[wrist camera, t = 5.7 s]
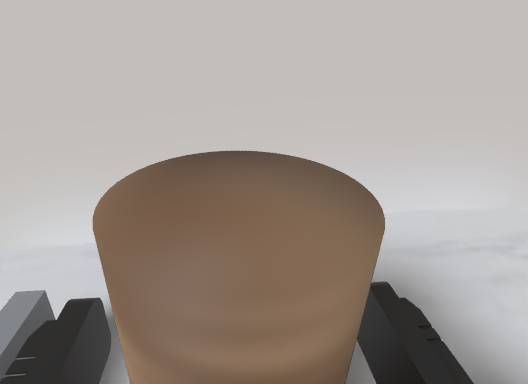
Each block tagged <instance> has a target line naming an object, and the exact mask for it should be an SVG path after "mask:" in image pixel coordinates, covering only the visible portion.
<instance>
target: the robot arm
mask: <svg viewBox="0 0 528 384" xmlns="http://www.w3.org/2000/svg"><path fill="white" fill-rule="evenodd" d="M357 341H358V343H359V345H360V347H361V350H362V352H363V354H364V356H365V358H366V361H367V363H368V365H369V367H370V370H371V372H372V374H373V376H374V379H375V381H376V383H377V384H474V383H473V382H472V380H471V379H470V378H469V376H468V375H467V374H466V372H465V371H464V369H463V368H462V367H461V365H460V364H459V363H458V361H457V360H456V358H455V357H454V356H453V354H452V353H451V351H450V350H449V349H448V347H447V346H446V345H445V343H444V342H443V341H441V338H440V336H439V335H438V334H437V332H436V331H435V329H434V328H432V327H431V324H430V323H429V321H428V320H427V318H426V317H425V316H424V314H423V313H422V312H421V310H420V309H418V308H417V307H416V306H415V305H414V304H412V303H411V302H410V301H409V300H407V299H406V298H399V297H398V296H397V294H396V293H395V291H394V290H393V289H392V287H391V286H390V284H389V283H387V282H372V283H371V285H370V289H369V293H368V297H367V301H366V305H365V308H364V312H363V316H362V320H361V324H360V328H359V332H358V336H357ZM110 345H111V335H110V330H109V326H108V322H107V318H106V314H105V311H104V307H103V303H102V300H101V299H100V298H85V299H71V300H69V301H68V302H67V303H66V305H65V306H64V308H63V310H62V312H61V313H60V315H59V317H58V319H57V320H47V321H46V322H45V323H43V324H42V325H41V326H40V327H39V328H38V329H37V330H36V331H35V332H34V333H32V334H31V335H30V336H29V337H28V338H27V340H26V342H25V343H24V345H23V346H22V348H21V349H20V351H19V353H18V354H17V356H16V360H15V361H13V362H12V364H11V365H10V367H9V368H8V370H7V372H6V373H5V377H4V378H2V379H1V381H0V384H99V382H100V379H101V376H102V373H103V370H104V367H105V364H106V362H107V359H108V355H109V351H110Z"/></svg>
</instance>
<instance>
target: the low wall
mask: <svg viewBox="0 0 528 384" xmlns="http://www.w3.org/2000/svg"><path fill="white" fill-rule="evenodd" d="M47 320H56V319H55V317H54V314H53V311H52V308H51V305H50V303H49V300H48V297H47V294H46V292H45V290H43V291H25V292H15V294H14V295H13V296H12V297H11V299H10V300H9V301H8V302H7V304H6V305H5V306H4V308H3V309H2V310H1V311H0V381H1V379H2V378H4V377H5V373H6V372H7V370H8V368H9V367H10V365H11V364H12V362H13V361H15V360H16V356H17V354H18V353H19V351H20V349H21V348H22V346H23V345H24V343H25V342H26V340H27V338H28V337H29V336H30V335H31V334H32V333H34V332H35V331H36V330H37V329H38V328H39V327H40V326H41V325H42V324H43V323H45V322H46V321H47Z"/></svg>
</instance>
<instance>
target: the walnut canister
mask: <svg viewBox="0 0 528 384" xmlns="http://www.w3.org/2000/svg"><path fill="white" fill-rule="evenodd" d="M93 231H94V235H95V239H96V244H97V248H98V252H99V256H100V260H101V264H102V268H103V273H104V277H105V281H106V285H107V289H108V293H109V297H110V302H111V306H112V310H113V314H114V318H115V322H116V326H117V330H118V335H119V339H120V343H121V347H122V351H123V355H124V359H125V364H126V368H127V372H128V376H129V380H130V384H345V382H346V379H347V375H348V371H349V367H350V363H351V359H352V355H353V351H354V347H355V343H356V340H357V336H358V332H359V328H360V324H361V320H362V316H363V312H364V308H365V305H366V301H367V297H368V293H369V289H370V285H371V281H372V277H373V273H374V270H375V266H376V262H377V258H378V254H379V250H380V246H381V242H382V238H383V235H384V231H385V218H384V214H383V210H382V208H381V206H380V204H379V203H378V201H377V200H376V198H375V197H374V196H373V195H372V193H371V192H370V191H368V190H367V189H366V188H365V187H364V186H363V185H362V184H360V183H359V182H357V181H356V180H355V179H353V178H351V177H349V176H348V175H346V174H344V173H342V172H340V171H338V170H335V169H333V168H331V167H328V166H326V165H323V164H320V163H317V162H314V161H311V160H307V159H302V158H299V157H294V156H289V155H283V154H277V153H268V152H257V151H218V152H207V153H199V154H192V155H186V156H181V157H176V158H172V159H168V160H165V161H161V162H158V163H155V164H153V165H149V166H147V167H145V168H142V169H140V170H138V171H136V172H134V173H132V174H130V175H128V176H126V177H125V178H123V179H122V180H120V181H119V182H117V183H116V184H115V185H114V186H112V187H111V188H110V189H109V190H108V191H107V192H106V193H105V194H104V196H103V197H102V198H101V199H100V201H99V203H98V204H97V206H96V208H95V211H94V215H93Z"/></svg>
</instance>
